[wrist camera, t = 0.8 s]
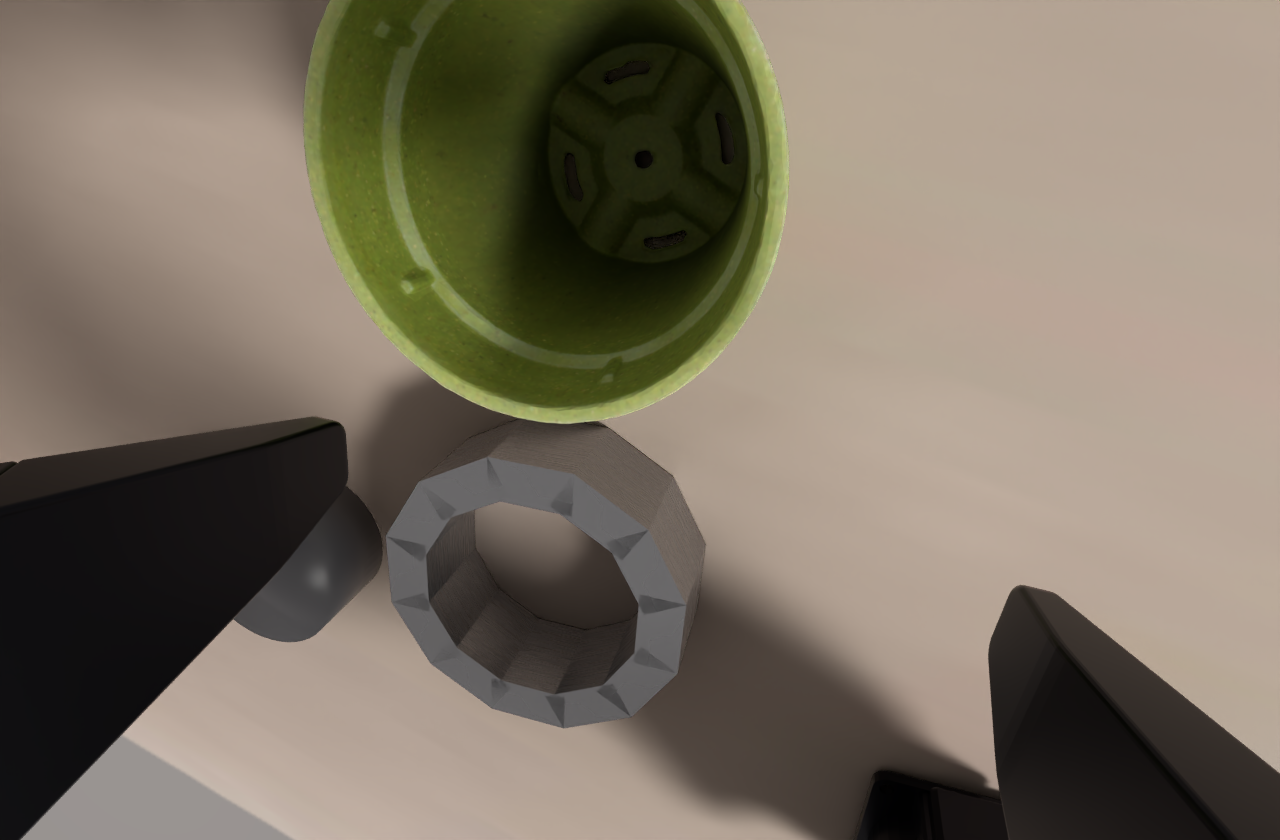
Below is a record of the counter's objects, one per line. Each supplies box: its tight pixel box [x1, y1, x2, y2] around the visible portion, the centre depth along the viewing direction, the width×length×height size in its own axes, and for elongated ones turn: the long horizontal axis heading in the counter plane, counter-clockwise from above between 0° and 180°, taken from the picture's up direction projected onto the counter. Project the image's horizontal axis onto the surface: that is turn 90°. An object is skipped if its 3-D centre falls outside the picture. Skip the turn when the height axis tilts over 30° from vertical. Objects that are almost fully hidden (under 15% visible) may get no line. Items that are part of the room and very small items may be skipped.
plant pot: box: [303, 0, 789, 424], centre depth 17 cm, size 9×9×9 cm
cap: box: [234, 486, 382, 642], centre depth 28 cm, size 6×6×4 cm
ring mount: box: [386, 418, 706, 728], centre depth 25 cm, size 10×10×4 cm
